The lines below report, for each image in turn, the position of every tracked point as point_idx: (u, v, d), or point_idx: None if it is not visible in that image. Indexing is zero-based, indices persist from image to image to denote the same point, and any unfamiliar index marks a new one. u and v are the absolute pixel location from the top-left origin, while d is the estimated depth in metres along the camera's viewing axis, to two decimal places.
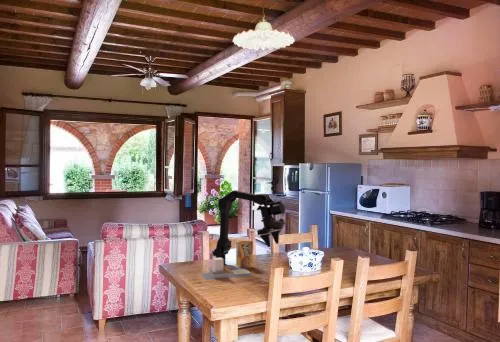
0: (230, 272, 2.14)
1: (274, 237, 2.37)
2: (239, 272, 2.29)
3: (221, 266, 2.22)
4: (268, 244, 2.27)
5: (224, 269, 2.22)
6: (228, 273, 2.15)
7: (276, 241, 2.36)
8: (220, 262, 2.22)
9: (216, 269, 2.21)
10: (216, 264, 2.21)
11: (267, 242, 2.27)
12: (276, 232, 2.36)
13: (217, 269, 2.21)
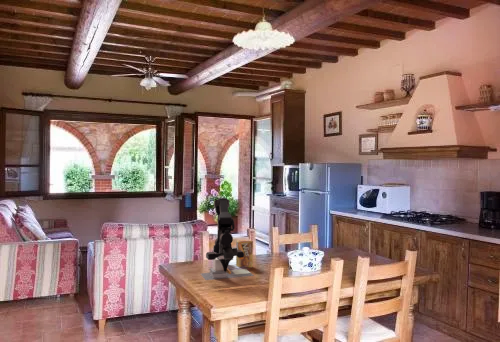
0: (230, 272, 2.14)
1: None
2: (239, 272, 2.29)
3: (221, 266, 2.22)
4: None
5: None
6: (228, 273, 2.15)
7: None
8: (220, 262, 2.22)
9: (216, 269, 2.21)
10: (216, 264, 2.21)
11: (223, 266, 2.17)
12: (226, 259, 2.17)
13: (217, 269, 2.21)
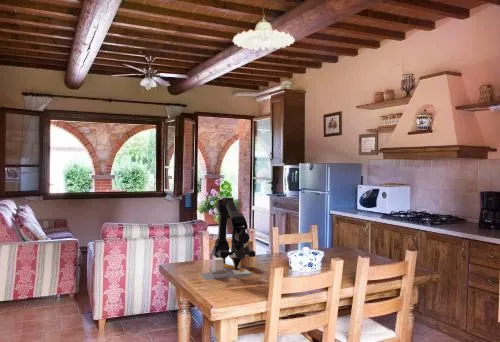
0: (243, 270, 2.18)
1: None
2: (239, 272, 2.29)
3: (221, 266, 2.22)
4: (235, 267, 2.20)
5: (231, 268, 2.24)
6: (241, 271, 2.19)
7: (235, 267, 2.20)
8: (220, 262, 2.22)
9: (216, 269, 2.21)
10: (216, 264, 2.21)
11: (234, 265, 2.20)
12: (237, 258, 2.19)
13: (217, 269, 2.21)
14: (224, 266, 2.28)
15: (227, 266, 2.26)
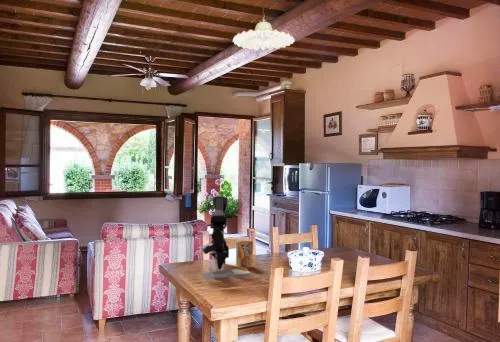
0: (246, 269, 2.20)
1: None
2: (239, 272, 2.29)
3: None
4: None
5: (233, 268, 2.25)
6: (244, 270, 2.20)
7: None
8: None
9: (216, 269, 2.21)
10: (216, 264, 2.21)
11: None
12: None
13: (217, 269, 2.21)
14: (225, 266, 2.28)
15: (228, 266, 2.27)
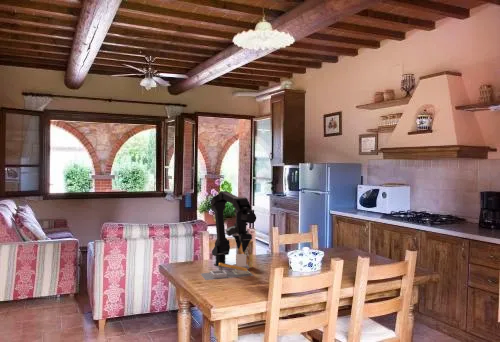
0: (246, 269, 2.20)
1: None
2: None
3: (244, 262, 2.29)
4: None
5: (233, 268, 2.25)
6: (244, 270, 2.20)
7: None
8: (243, 258, 2.29)
9: (239, 265, 2.29)
10: (239, 260, 2.28)
11: None
12: None
13: (240, 265, 2.29)
14: (225, 266, 2.28)
15: (228, 266, 2.27)
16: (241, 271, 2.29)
